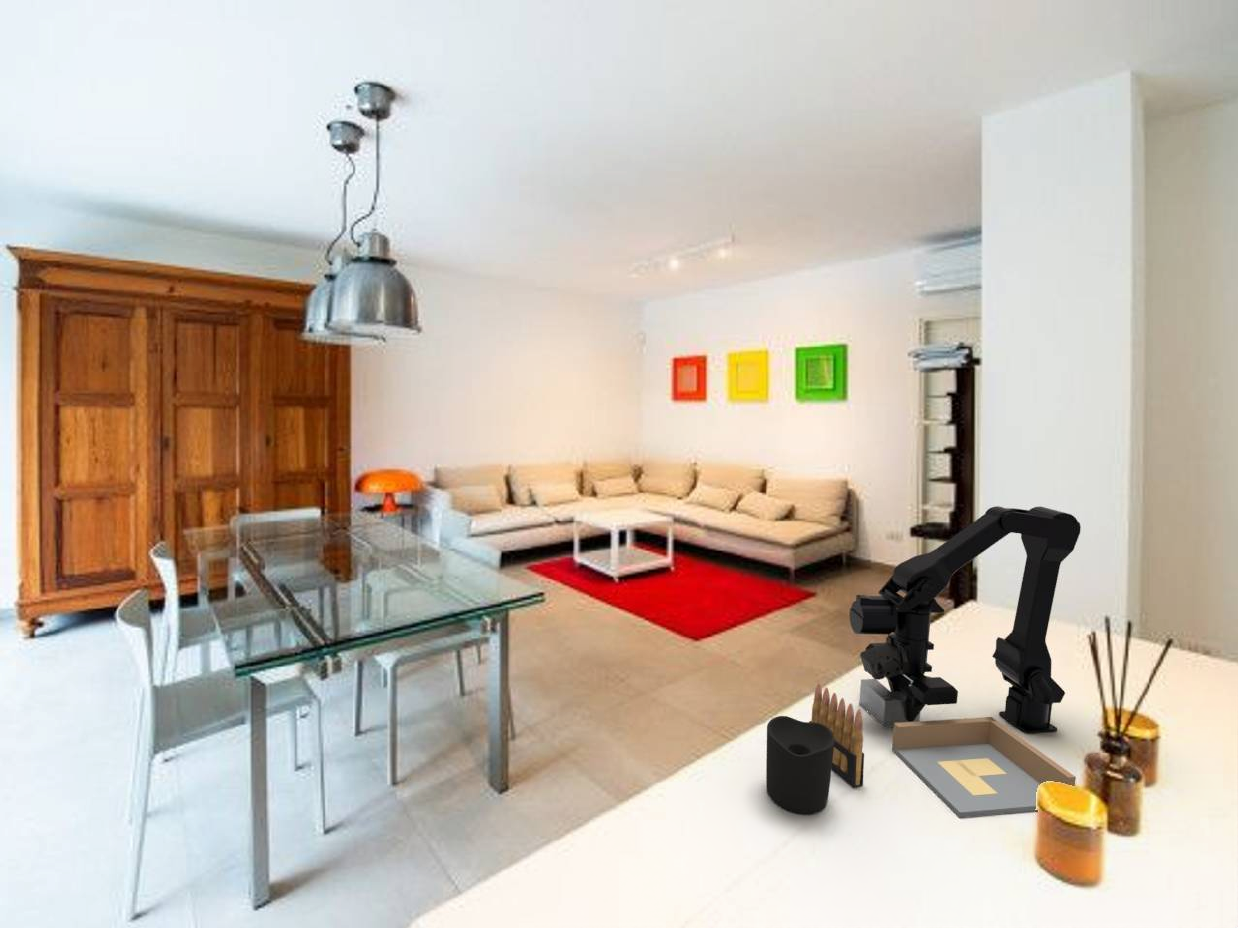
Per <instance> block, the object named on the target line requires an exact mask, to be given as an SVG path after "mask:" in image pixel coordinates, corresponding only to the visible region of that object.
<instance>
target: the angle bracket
mask: <svg viewBox="0 0 1238 928" xmlns="http://www.w3.org/2000/svg"><path fill="white" fill-rule="evenodd" d="M858 704H859V706H860V707H861V708H862V709H863V710H864V711H866V712H867V711H868V712H867V713H868V714H869V713H870V714H871V715H872V716H873V717H874V718H875V719H876V720H877V721H878V722H879V723H880V724H881V725H882V726H883V727H882V726H881V725H880V724H879V723H878V722H877V721H876V720H875V719H874V718H873V717H872V716H871V715H870V714H869V715H870V716H871V717H872V718H873V719H874V720H875V721H876V722H877V723H878V724H879V725H880V726H881V727H882V728H894V723H902V722H909V721H907V717H906V694H905V693H904V692H903V691H897V692H891V690H890V689H888V688H887V687H886V686H884V685H883V684H882V682H880V681H879V680H877V679H874V678H867V679H865V678H864V679H863V678H862V679H860V687H859V702H858ZM918 721H921V712H920V713H919V714H918V716H917V717H916V718H915V720H914V721H910V722H918Z"/></svg>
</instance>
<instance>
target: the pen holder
mask: <svg viewBox="0 0 1238 928" xmlns="http://www.w3.org/2000/svg"><path fill="white" fill-rule="evenodd" d="M766 725H767V726H766V763H765V765H766V769H765V770H766V771H765V772H766V774H765V775H766V777H765V778H766V779H765V783H766V786H765V787H766V792H767V795H768V797H769V798H770V799H771V801H772V800H773V801H774V802H773V801H772V802H773V803H774V804H775V805H776V804H777V805H776V806H778V807H779V808H780V807H781V809H782V810H784V811H786V812H788V813H791V814H794V815H795V814H796V815H801V816H806V815H807V816H809V815H814V814H815V815H816V814H817V813H820V812H821V811H822V810H824V809H825V808H826V806H827V804H828V799H829V793H830V787H831V786H830V785H831V778H832V777H831V776H832V760H833V751H834V742H835V737H834V735H833V733H832V731H831V730H830V729H829V728H828V727H826V726H825V725H823V724H820V723H815V722H809V721H808V722H807V721H801V720H799V719H798V720H797V719H795V718H793V717H790V716H786V715H779V716H775V717H773V718H772V719H770V720H769V721H768V722H767V724H766Z"/></svg>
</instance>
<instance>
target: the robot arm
mask: <svg viewBox="0 0 1238 928" xmlns="http://www.w3.org/2000/svg"><path fill="white" fill-rule="evenodd" d="M1081 528H1082V527H1081V523H1080V521H1078V519H1077V518H1076V517H1075V516H1074V515H1073V514H1070V513H1067V512H1064V511H1061V510H1060V511H1058V510H1057V509H1052V508H1049V507H1044V506H1035V507H1032V508H1030V509H1021V508H1013V507H1012V508H1010V507H1002V506H998V505H997V506H992V507H990V508H988V509H987V510H986V511H985V513H984V514H983V515H982V516H980V517H979V518H977V519H976V520H975V521H973V522H972V523H970V524H969V525H967V526H966V527H965V528H964V529H962V530H960V531H959V532H958V533H956V534H955V535H954V536H952V537H951V538H950V539H948V540H947V541H945V542H943V543H942V544H941V545H939V546H938V547H937V548H935V549H934V550H931V551H930V552H926V553H924V554H918V555H915V556H913V557H911V558H909V559H907V560H905V561H902V562H901V563H899V564H897V565H896V567H894V569H893V573H892V574H893V575H891V577H890V578H889V579H888V580H887V581H886V582H885V584H884V585H883V586H882V587H881V589H880V590H878V594H879V595H866V594H856V596H855V600H854V601H853V602H852V604H851V607H850V608H849V622H850V627H851V629H852V631H853V632H854V634H857V635H887V636H886V638H885V642H872V643H871V642H870V643H869V644H868V645H867V646H866V647H865V650H864V651H861V652H860V653H859V656H860V660H861V663H862V666H863V669H864V670H863V671H865V672H867V673H868V674H869V675H870V676H871V677H872V679H876V680H878V681H879V680H883V679H885V678H886V680H887V683H888V686H889V691H891V692H897V691H903V692H904V693H905V694H906V717H907V721H909V722H910V721H914V720H915V718H916V717H917V716H918V714H919V713H920V714H921V712H922V710H923V709H924V708H925V707H926V706H940V705H956V704H957V703H958V697H959V696H958V694H959V691H958V689H956V687H955V686H954V685H952V684H951V683H949V682H948V681H947V680H945V679H943V678H942V677H940V676H938V677H935V676H934V677H933V676H930V675H929V676H928V675H925V673H932V671H933V666H932V665H931V664H930V663H928V656H929V655H928V653H929V651H930V650H932V651H933V650H934V649H935V643H933V642H932V641H930V631H931V630H930V629H931V628H930V627H931V618H932V613H933V614H935V613H936V614H937V613H938V614H943V613H944V612H945V609H944V608H943V607H942V606H941V605H940V604H939V602H938V601H937V600H936V598H937V597H938V596H939V595H940V594H941V593H942V592H943V591H944V590H945V589H946V588H947V587H948V585H949V583H950V581H951V578H952V576H953V575H954V574H955V573H956V572H957V571H959V570H960V569H961V568H963V567H964V566H966V565H967V564H968V563H970V562H971V561H973V560H974V559H975V558H977V557H978V556H979V555H981V554H982V553H985V552H986V551H987V550H988V549H990V548H991V547H992V546H993V545H995V544H997V542H999V541H1001V540H1002V539H1004V538H1005V537H1006V536H1008V535H1009V534H1012V533H1013V534H1020V538H1021V542H1022V545H1023V548H1024V550H1025V553H1026V560H1025V563H1024V564H1025V565H1024V569H1023V573H1022V574H1023V576H1022V580H1021V585H1020V590H1019V596H1018V600H1017V606H1016V610H1015V611H1016V612H1015V616H1014V617H1015V618H1014V622H1013V626H1012V629H1011V632H1010V633H1009V634H1008V635H1006V636H1005V638H1002V637H1000V636H998V637H997V638H996V640H995V651H994V653H993V654H992V658H994V660H995V667H996V668H997V669H998V671H999V672H1001V675H1002V676H1001V677H1002V679H1003V680H1004V681H1005V682H1008V683H1009V684H1010V685H1011V686H1008V693H1007V695H1006V698H1005V706H1004V707H1005V708H1004V710H1003V711H1002V710H1001V711H999V712H998V715H999V716H1001V717H1002V718H1003V719H1005V720H1006V721H1008V722H1010V723H1011V724H1012V725H1014V726H1015V727H1017V729H1019V730H1020V731H1022V732H1024V733H1026V734H1035V733H1036V734H1037V733H1049V732H1050V733H1051V732H1058V727H1057V726H1055V725H1053V724H1052V723H1051V717H1052V710H1053V709H1052V708H1053V705H1054V704H1060V703H1061V702H1062V701H1063V698H1064V696H1065V694H1066V692H1065V690H1064V689H1063V688H1062V687H1061V686H1060V685H1059V684H1058V683H1057V682H1056V680H1055V679H1054V678H1052V658H1051V655H1050V651H1049V648H1048V645H1047V642H1046V640H1047V639H1046V638H1047V633H1048V629H1049V622H1050V618H1051V613H1052V609H1053V604H1054V597H1055V593H1056V588H1057V582H1058V578H1059V573H1060V569H1061V564H1062V562H1063V561H1064V560H1065V559H1066V558H1067V557H1068V556H1069V555H1070V554H1071V553H1072V552H1073V551H1074V550H1075V547H1076V545H1077V542H1078V540H1079V536H1080V534H1081V530H1082V529H1081ZM898 592H902V593H903V594H904V596H902V595H901V594H899V593H898Z"/></svg>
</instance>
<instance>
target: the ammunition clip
mask: <svg viewBox="0 0 1238 928" xmlns="http://www.w3.org/2000/svg"><path fill="white" fill-rule="evenodd" d="M808 722H815V723H820V724H823V725H825V726H826V727H828V728H829V729H830V730H831V731H832V733H833V735H834V737H835V742H834V751H833V760H832V770H831V772H833V773H835V774H836V775H837V776H838V777H839V778H841V779H842V780H843V781H844V782H846V783H847V784H848V785H849V786H850V787H851V788H854V789H855V788H859V787H861V786H863V785H864V769H865V768H864V765H865V753H864V752H863V747H864V746H863V745H864V744H863V743H864V735H863V734H864V733H863V730H864V729H863V714H862V711H861V709H860V708H858V710H857V711H856V713H855V712H854V706H853V703H851V702H850V703H849V704H848V707H847V709H846V701H845V699H844V697H841V698H840V700H839V703H838V698H837V694H836V692H833V693H832V695H831V698H830V691H829V688H828V687H827V686H826V687H825V689H824V690H823V689H822V685H821V682H817V684H816V686H815V688H814V697H813V704H812V708H811V719H810V720H809V721H808Z"/></svg>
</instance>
